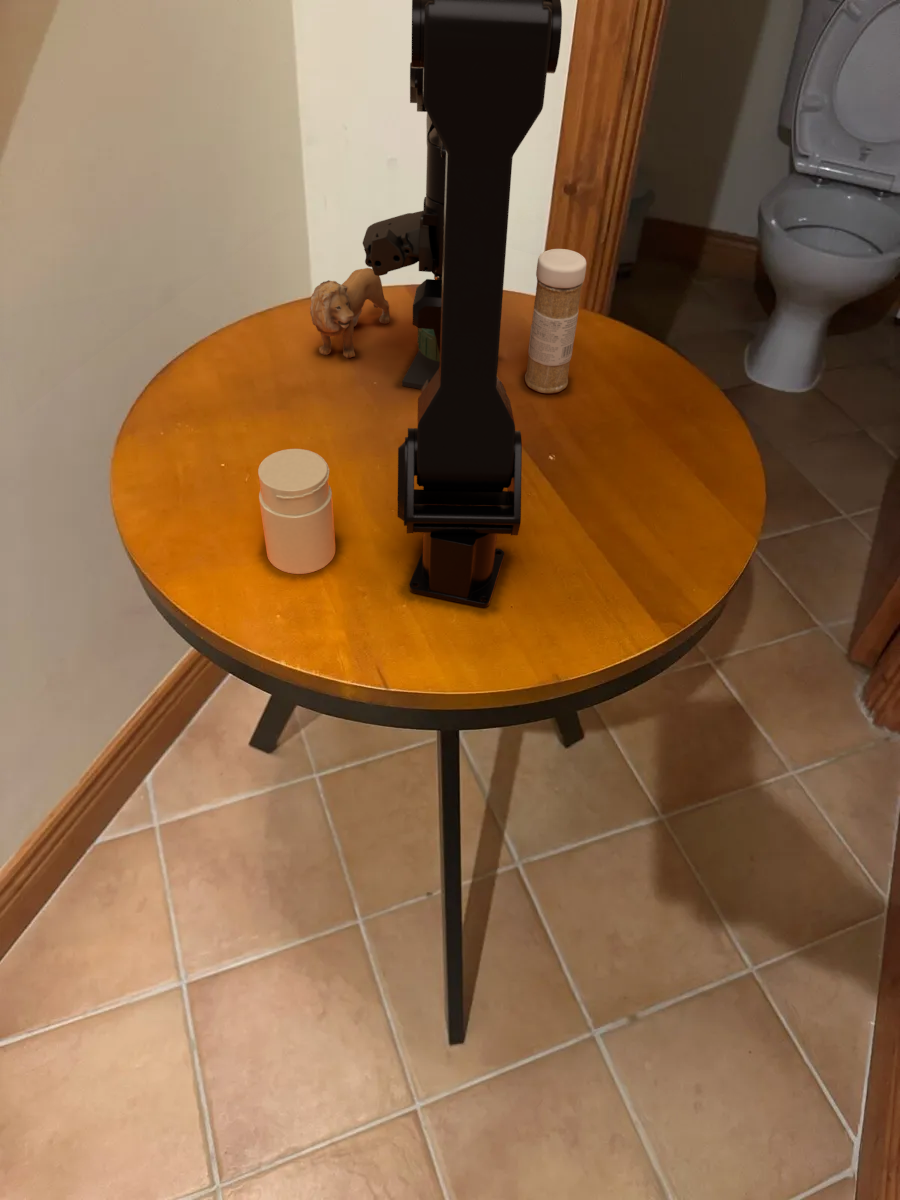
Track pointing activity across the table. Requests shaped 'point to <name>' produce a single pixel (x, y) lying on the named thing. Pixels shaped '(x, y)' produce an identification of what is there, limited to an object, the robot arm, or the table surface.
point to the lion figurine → (345, 307)
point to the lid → (428, 344)
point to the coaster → (420, 371)
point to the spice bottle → (554, 319)
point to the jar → (297, 510)
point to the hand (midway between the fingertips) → (450, 349)
